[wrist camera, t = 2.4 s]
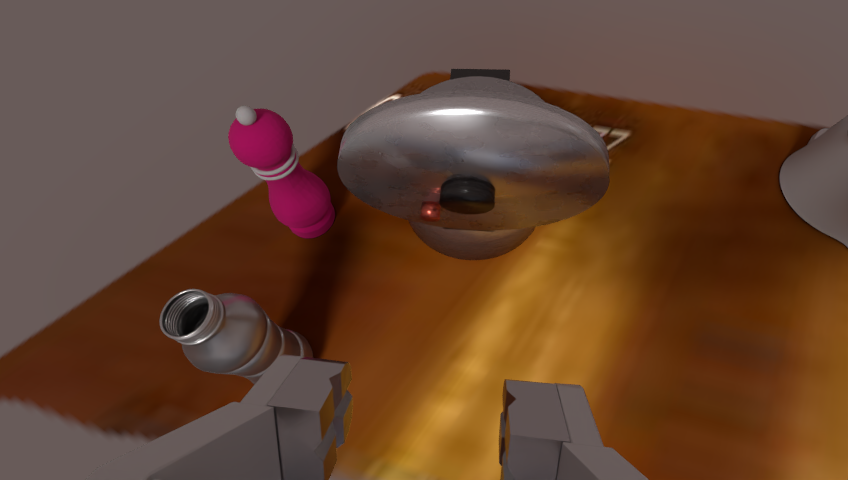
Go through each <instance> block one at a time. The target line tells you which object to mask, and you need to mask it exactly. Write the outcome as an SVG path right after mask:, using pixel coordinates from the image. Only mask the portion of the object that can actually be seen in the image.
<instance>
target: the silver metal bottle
mask: <svg viewBox="0 0 848 480" xmlns="http://www.w3.org/2000/svg"><path fill="white" fill-rule="evenodd" d="M160 327H161V330H162V331H163V333H164V334H165V335H167V336H168V337H169V338H172V339H175V340H176V341H177V342H179V343H181V344H182V349H183V351H184V354H185V355H186V357H187V358H188V359H189V361H190V362H191V363H192V364H193V365H194V366H195V367H197V368H198V369H200V370H203V371H206V372H211V373H217V374H235V375H239V376H243V377H245V378H247V379H249V380H251V381H252V382H253V384H256V383H257V381H258V380H259V379H260V378H261V377H262V375H263V374H264V373H265V372H266V370H267V369H268V368H269V367H270V366H271V364H272V363H273V362H274V361H275V360H276V358H277V357H278V356H281V355H293V356H302V357H311V358H313V352H312V348H311V347H310V345H309V343H308V341H307V340H306V338H305V337H304V336H302V335H301V334H299V333H297V332H295V331H292V330H289V329H284V328H281V327H279V326H277V325H276V324H275V323H274V322H273V321H272V320H271V319H270V318H269V317H268V316H267V314H266V313H265V312H264V310H263V309H262V308H261V307H260V305H259V304H258V303H257V302H256V301H254V300H253V299H252V298H250V297H248V296H245V295H241V294H233V293H225V294H220V295H216V296H214V295H212V294H208V293H206V292H204V291H202V290H198V289H188V290H184V291H182V292H180V293H178V294H176V295H175V296H173V297H172V298H171V299H170V300H169V301H168V302H167V303H166V305H165V306H164V308H163V310H162V312H161V315H160Z"/></svg>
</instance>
